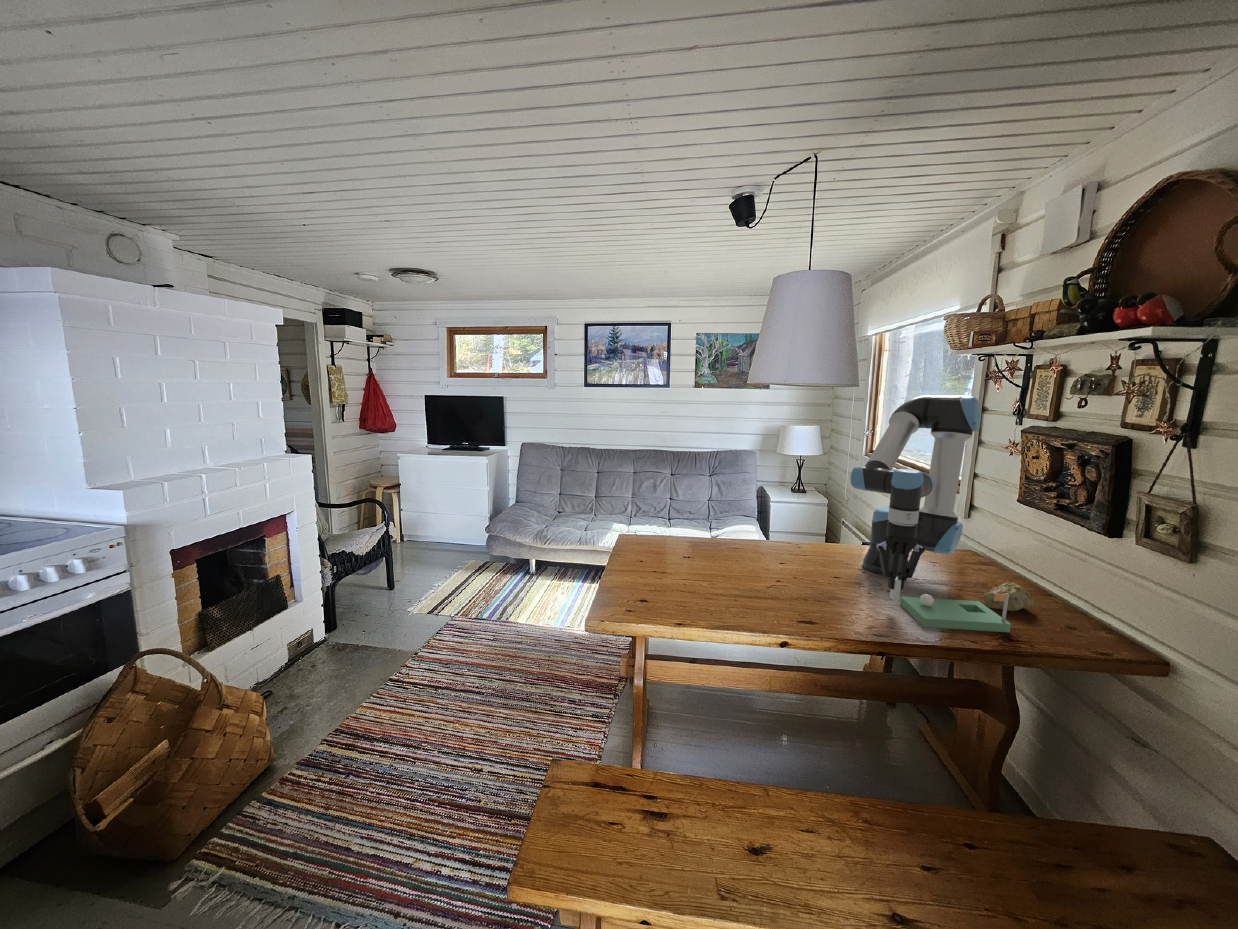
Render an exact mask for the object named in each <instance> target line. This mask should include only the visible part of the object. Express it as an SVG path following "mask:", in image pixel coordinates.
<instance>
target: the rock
mask: <svg viewBox="0 0 1238 929" xmlns="http://www.w3.org/2000/svg"><path fill="white" fill-rule="evenodd" d="M1005 593H1008V594H1009V599H1008V605H1007V611H1009V612H1017V611H1020V610H1021V609H1025V608H1026V607H1028V606H1030V607H1031V608H1033V607H1035V606H1036V605H1035V599H1034V598H1032V596H1031V594H1030V592H1029V591H1028V590H1026V588H1024V586H1022V585H1019V584H1017V583H1015V582H1012V581H1009V582H1004V583H1001V584H1000V585H998V586H995V587H992V588H990V589H989V590H988V592H986V593H983V598H984V599H983V600H984V601H985V604H986V605H985V606H986V607H988V608H989V609H1000V610H1003V606H1004V601H994V596H995V594H1005Z"/></svg>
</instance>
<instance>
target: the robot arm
mask: <svg viewBox="0 0 1238 929" xmlns="http://www.w3.org/2000/svg"><path fill="white" fill-rule="evenodd" d="M981 419H982V415H981V405H980V402H979V399H978V398H977V397H975V396H972V395H971V396H970V395H961V394H960V395H956V394H955V395H954V394H953V395H946V394H945V395H931V394H925V395H919V396H916V397H914V398H911V399H909V400H907V401H905V402H904V403H903V404H901V405H900V406H899V407H897V408H896V409H895V410H894V411H893V412H892V414H891V415H890V416H889V419H888V426H887V428H886V430H885V432H884V433H883V435H882V436H881V438H880V440H879V441H878V444H877V445H876V446H875V449H874V450H873V451H872V454H871V455H870V457H869V458H868V460H867V462H866V464H865V465H864V466H863V465H858V466H855V467H853V469H852V470H851V474H850V477H849V478H850V485H851V487H852V488H854V489H856V490H861V491H869V492H872V493H873V492H874V493H881V494H888V495H890V496H889V504H888V506H887V507H886V506H884V507H878V508H876V509H874V511H873V514H872V519H871V527H870V528H871V529H870V530H871V531H870V540H869V547H868V549H867V551H866V553H865V555H864V556H863V560H862V566H863V568H864V569H866V570H867V571H868V572H871V573H874V574H877V575H881V576H884V577H887V578H888V580H887V587H888V588H889V589H890V592H889V599H891V600H892V601H893V602H900V598H901V596H900V595H901V590H902V591H903V590H904V588H905V586H904V585H905V582H906V581H907V580H908V579H912V578H913V577H914V576H913V575H914V574H915V572H916V569H917V566H918V564H919V560H920V558H921V556H922V555H923V554H924V553H925V552H930V553H933V554H940V555H945V556H946V555H951V554H952V553H954V551H955V550H956V548H957V547H958V544H959V542H960V539H961V537H962V533H963V527H964V525H963V523H962V522H960V521H959V516H958V514H957V513H956V512H955V504H956V499H957V492H958V487H959V482H960V481H959V480H960V476H961V475H960V474H961V470H962V462H963V459H964V458H963V457H964V451H965V447H966V446H965V445H966V441H968V440H969V439H971V438H972V436H973V433H974V432H978V431H980V427H981ZM919 429H929V430H930V434H931V436H932V437H933V438H934V440H933V441H934V442H933V447H932V448H933V449H932V455H931V459H930V460H931V461H930V466H929V473H927V472H924V471H920V470H917V469H908V468H901V469H900V468H897V469H893V468H894V466H895V465H896V463H897V461H898V459H899V458H900V456H901V454H902V452H903V450H904V449H905V447H906V445H907V443H908V441H909V440H910V438H911V437H912V435H913V434H915V433H916V432H917V431H918V430H919ZM922 498H924V501H923V506H922V507H921V500H922ZM920 507H921V508H920ZM910 552H911V553H910ZM909 556H910V557H909Z"/></svg>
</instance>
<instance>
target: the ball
mask: <svg viewBox="0 0 1238 929" xmlns="http://www.w3.org/2000/svg"><path fill="white" fill-rule="evenodd" d="M919 598H920V602H921V603H922V604H923V605H924V606H931V605H933V603H934V599H935V598H933V596H931V595H930V594H927V593H923V594H921V595H920V597H919Z"/></svg>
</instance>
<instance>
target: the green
mask: <svg viewBox="0 0 1238 929" xmlns="http://www.w3.org/2000/svg"><path fill="white" fill-rule="evenodd" d="M933 599H934V603H933V605H931V606H924V605H923V604H922V603H921V602H920V597H915V596H914V597H912V596H900V605H901V606H902V607H903V608H904V609H905V610H906V612H908V613H909V615H911V616H912V617H913V618H914V619H915V620H916V621H917V622H918V623H919V624H920V625H921V626H922V627H924V628H935V629H937V628H938V629H948V630H949V629H952V630H953V629H954V630H966V631H967V630H968V631H982V632H997V633H1000V632H1001V633H1010V632H1011V626H1012V623H1010V622H1009V621H1008V620H1006V618H1007V612H1008V610H1007V605H1008V599H1009V594H1008V593H1005V594H995V596H994V601H1004V606H1003V609H1002V613H1001V614H1002V615H1001V616H1000V615H999V614H998V613H996V612H995V611H994V610H992V609H991V608H988V607H987V605H985V604H983V603H982V602H981V601H979V600H966V599H965V600H964V599H947V598H946V599H945V598H933Z"/></svg>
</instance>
